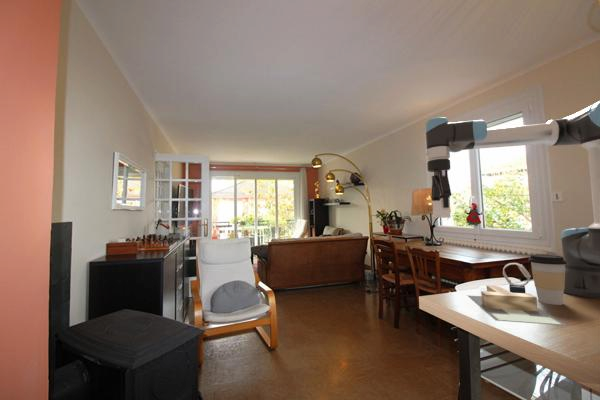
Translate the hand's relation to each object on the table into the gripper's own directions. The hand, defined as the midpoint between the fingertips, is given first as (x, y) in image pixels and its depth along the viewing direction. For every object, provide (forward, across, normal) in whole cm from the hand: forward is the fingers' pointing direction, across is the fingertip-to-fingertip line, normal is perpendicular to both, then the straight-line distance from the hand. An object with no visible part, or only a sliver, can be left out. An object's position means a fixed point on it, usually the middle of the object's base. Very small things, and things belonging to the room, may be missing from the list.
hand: (441, 217), depth 100 cm
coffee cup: (+28, +2, +30) cm, 41 cm away
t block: (+28, +6, +15) cm, 32 cm away
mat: (+28, +11, +15) cm, 34 cm away
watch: (+28, -7, +25) cm, 39 cm away
